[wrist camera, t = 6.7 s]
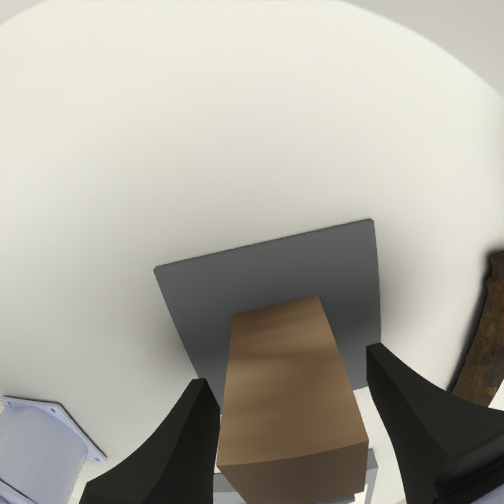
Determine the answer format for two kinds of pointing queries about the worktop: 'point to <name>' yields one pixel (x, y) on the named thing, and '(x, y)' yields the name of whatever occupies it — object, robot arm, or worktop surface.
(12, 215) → the worktop surface
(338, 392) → the tan wooden post
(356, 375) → the mat
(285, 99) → the worktop surface
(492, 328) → the hand tool
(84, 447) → the robot arm
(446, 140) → the worktop surface
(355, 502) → the panel
